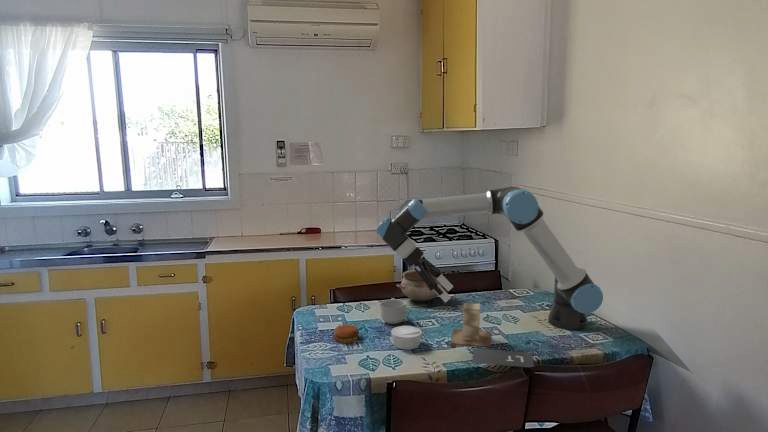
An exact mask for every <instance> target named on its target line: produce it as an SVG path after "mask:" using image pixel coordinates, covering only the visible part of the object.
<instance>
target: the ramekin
mask: <svg viewBox="0 0 768 432" xmlns="http://www.w3.org/2000/svg"><path fill="white" fill-rule="evenodd" d="M390 331H391V332H390V334H391V337H392V343H393V346H395V348H398V349H400V350H414V349H417V348H418V347H419V346H420V344H421V338H422V336H423V335H422V334H423V332H422V329H421V328H418V327H417V326H412V325H400V326H396V327H393V328H392V329H391V330H390Z"/></svg>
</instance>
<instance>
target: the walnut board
mask: <svg viewBox="0 0 768 432" xmlns="http://www.w3.org/2000/svg"><path fill="white" fill-rule="evenodd" d="M462 333H463V328H462V329H461V328H460V329H459V328H453V329H452V335H451V340H450V348H457V346H466V347H467V346H468V347H479V348H491V331H487V330H479V341H475V340H462Z"/></svg>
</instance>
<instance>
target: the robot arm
mask: <svg viewBox="0 0 768 432" xmlns="http://www.w3.org/2000/svg"><path fill="white" fill-rule="evenodd" d="M483 213H487V214H489V215H502V216H504V217H506V219H507V220H508V221H509V222H510V223H511V225H512V227H513V228H514V229H515V231H516V232H521V233H523V235H524V236H525V238H527V240H528V241H529V243H530V244H531V246H532V247H533V248H534V249H535V251H536V252H537V254H538V255H539V257H540V258H541V259H542V261H543V262H544V264H545V265H546V266H547V268H548V269H549V270H550V272H551V273H552V274H553V276H554V284H553V285H554V287H553V289H554V290H553V303H552V305H551V308H550V311H549V314H548V317H547V322H548V323H549V324H550V325H551V326H553V327H556V328H559V329H563V330H571V331H572V330H573V331H576V330H579V331H580V330H584V329H586V328H587V327H588V325H589V324H588V323H589V320H588V316H587V314H590V313H594V312H596V311H597V310H598V309H599V308H600V307H601V305H602V303H603V300H604V293H603V291H602V289H601V288H600V286H598V285H597V284H595V282H594V281H593V280H592V279H591V277H590V276H589V275H588V273H587V270H586V269H585V268H582V267H578V266H577V265H576V263H575V262H574V261H573V259H572V258H571V256H570V255H569V254H568V252H567V251H566V250H565V248H564V246H563V245H562V243H560V241H559V239H558V238H557V237H556V236H555V233H553V231H552V230H551V229H550V227H549V226H548V224H547V223H546V222H545V220H544V218H543V217H544V211H543V210H542V208H541V207H540V205H539V203H538V200H537V198H536V197H535V195H533V193H532V192H530V191H528V190H526V189H524V188H520V187H517V186H507V187H506V186H505V187H502V188H496V189H487V191H485V192H482V193H481V192H480V193H473V194H464V195H453V196H444V197H435V198H433V197H432V198H423V199H417V198H413V199H406V200H404V201H402V203H401V204H400V206H399V212H398V213H397V214H396V215H395V216H394V217H392V218H391V217H390V216H387V217H385V218H384V219H383V220H382V221H381V222H380V223H379V224H378V225H377V226H376V227H375V233H376V234H377V235H378V237H380V238H381V240H382V241H383V242H385V244H387V245H388V246H389V248H390V249H392V251H393V252H394V253H395V256H398V257H399V258H400V259H403V262H404V263H405V264H406V265H407V267H409V268H411V267H413V266H415V267H414V269H413V270H415V271H416V272H417V273H418V274H419V275H420V277H421V278H422V279H423V281H424V282H425V283H426V285H427V286H428V287H429V290H430V291H432V290H434V291H435V292H436V293H437V294H438V296H439V298H440V299H442V301H443V302H444V303H447V302H448V301H449V300H450V299H452V296H451V295H449V293H448V292H450V290H452V289H453V288H454V285H453V284H452V283H451V282H450V281H449V280H448V279H447V278H446V277H445V276H444V275H443V271H442V270H440V269H439V268H438V267H437V266H436V265H434V264H433V263H432V262H431V261H429V260H428V258H426V257H425V256H424V254H425V253H424V251H423V250H421V248H420V247H419V246H417V244H416V243H415V241H413V240H412V239H411V238H410V237H409V236H408V235H407V234H408V233H409V232H410V231H411V230H412V228H414V227H416V225H417V224H418V223H419V222H420V221H422V220H423V219H431V218H441V217H442V218H443V217H451V216H461V215H462V216H463V215H472V214H473V215H474V214H483ZM432 275H433V276H434V277H436V278H437V277H438V278H437V280H438V281H439V282H440V283H441V284H442V287H441V286H440V285H439V284H438V285H437V283H436V281H435V280H434V278H433V277H432Z"/></svg>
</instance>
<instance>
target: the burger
mask: <svg viewBox="0 0 768 432" xmlns="http://www.w3.org/2000/svg"><path fill="white" fill-rule="evenodd" d="M333 332H334V334H333V339H334V340H335V341H336V342H338V343H342V344H350V343H354V342H356V341H358V338H359V334H360V330H359V328H358V327H357V326H356V325H354V324H344V323H343V324H339V325H338V326H336V327H335V329H334V331H333Z"/></svg>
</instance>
